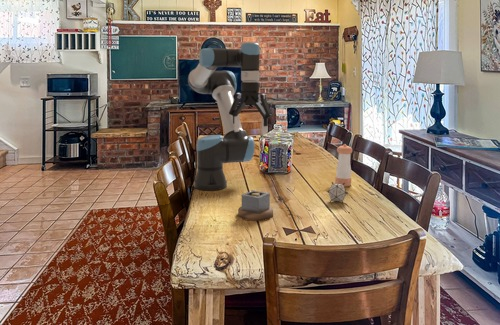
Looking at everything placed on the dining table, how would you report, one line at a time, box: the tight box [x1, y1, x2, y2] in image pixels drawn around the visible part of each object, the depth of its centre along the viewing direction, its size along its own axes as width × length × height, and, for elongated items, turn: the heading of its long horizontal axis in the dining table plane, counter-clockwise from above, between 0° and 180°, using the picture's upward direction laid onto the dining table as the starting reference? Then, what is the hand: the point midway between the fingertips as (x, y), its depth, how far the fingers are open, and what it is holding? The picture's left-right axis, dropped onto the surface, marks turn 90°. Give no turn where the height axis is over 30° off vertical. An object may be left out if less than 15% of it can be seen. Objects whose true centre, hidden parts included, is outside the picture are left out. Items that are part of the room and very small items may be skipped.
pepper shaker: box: [334, 143, 353, 187], centre depth 199 cm, size 7×7×19 cm
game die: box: [326, 181, 349, 204], centre depth 174 cm, size 9×8×10 cm
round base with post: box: [237, 193, 274, 222], centre depth 158 cm, size 13×13×8 cm
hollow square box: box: [241, 189, 271, 214], centre depth 158 cm, size 8×8×6 cm
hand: (250, 132), depth 181 cm, fingers open, 13 cm apart
